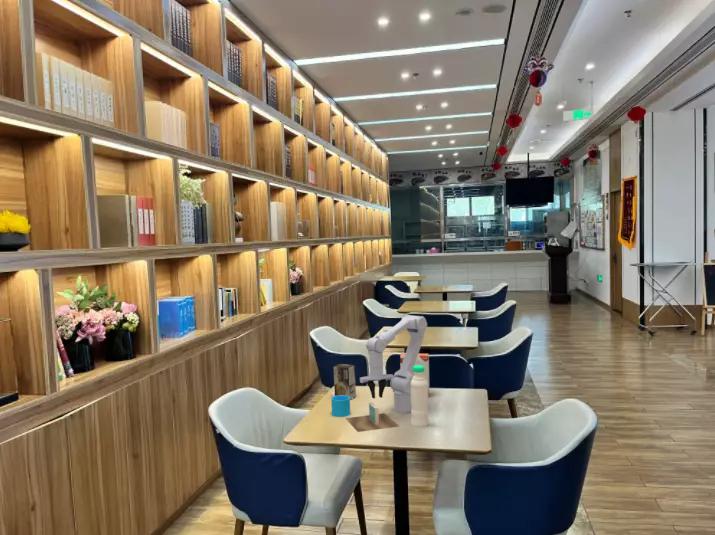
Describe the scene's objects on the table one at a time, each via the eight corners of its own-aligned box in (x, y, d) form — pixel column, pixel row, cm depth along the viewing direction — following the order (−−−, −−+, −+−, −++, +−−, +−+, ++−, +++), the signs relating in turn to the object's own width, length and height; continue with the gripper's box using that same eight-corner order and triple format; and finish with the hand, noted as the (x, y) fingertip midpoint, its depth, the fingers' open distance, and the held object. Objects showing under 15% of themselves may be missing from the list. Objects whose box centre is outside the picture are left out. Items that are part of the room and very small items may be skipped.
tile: (372, 418, 224) (372, 402, 224) (378, 424, 217) (378, 407, 216) (369, 419, 224) (368, 402, 223) (375, 425, 216) (374, 408, 216)
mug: (346, 419, 227) (346, 401, 226) (329, 418, 229) (328, 400, 229) (355, 411, 238) (355, 393, 238) (338, 410, 241) (338, 392, 240)
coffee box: (356, 397, 261) (355, 364, 260) (349, 400, 255) (348, 367, 255) (340, 394, 265) (340, 363, 265) (334, 398, 260) (333, 366, 259)
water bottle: (417, 429, 212) (416, 368, 211) (408, 424, 218) (406, 365, 217) (432, 426, 215) (430, 366, 214) (422, 421, 221) (421, 363, 220)
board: (384, 415, 231) (384, 413, 231) (399, 428, 214) (399, 426, 214) (345, 420, 226) (345, 418, 226) (357, 434, 209) (357, 431, 209)
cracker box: (400, 397, 258) (399, 355, 258) (401, 393, 264) (400, 352, 263) (429, 397, 256) (428, 355, 255) (429, 394, 262) (428, 353, 261)
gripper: (388, 362, 230) (389, 393, 231) (357, 365, 226) (358, 396, 226) (394, 366, 223) (395, 397, 224) (362, 369, 219) (363, 401, 219)
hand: (377, 397), depth 225 cm, fingers open, 3 cm apart
